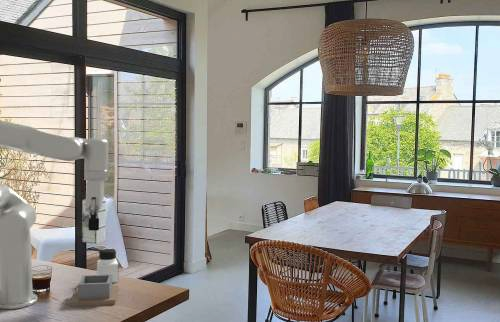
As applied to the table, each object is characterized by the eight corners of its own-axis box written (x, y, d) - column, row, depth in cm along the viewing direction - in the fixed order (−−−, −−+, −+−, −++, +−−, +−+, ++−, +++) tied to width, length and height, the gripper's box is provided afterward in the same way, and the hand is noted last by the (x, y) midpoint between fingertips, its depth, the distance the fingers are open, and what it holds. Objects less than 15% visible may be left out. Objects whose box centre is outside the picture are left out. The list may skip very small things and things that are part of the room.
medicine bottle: (118, 282, 185) (118, 250, 184) (98, 284, 183) (98, 252, 182) (116, 276, 192) (116, 246, 191) (97, 278, 189) (96, 247, 188)
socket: (70, 306, 160) (70, 286, 160) (77, 292, 174) (77, 273, 173) (115, 304, 163) (115, 285, 162) (118, 290, 176) (118, 272, 176)
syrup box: (105, 240, 169) (106, 198, 168) (96, 244, 163) (97, 200, 162) (91, 239, 170) (92, 197, 169) (81, 242, 165) (81, 199, 164)
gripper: (88, 172, 173) (87, 222, 174) (80, 178, 156) (79, 233, 157) (110, 173, 174) (109, 222, 176) (104, 178, 157) (103, 233, 159)
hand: (95, 227), depth 166 cm, fingers closed on syrup box, 7 cm apart
